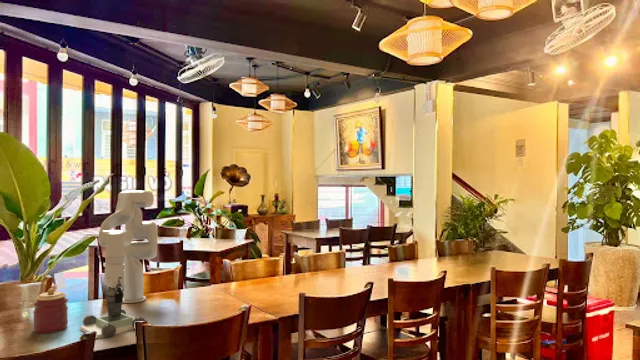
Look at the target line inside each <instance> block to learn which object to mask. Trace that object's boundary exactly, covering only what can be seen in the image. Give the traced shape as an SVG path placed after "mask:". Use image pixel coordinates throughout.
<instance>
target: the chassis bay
mask: <svg viewBox="0 0 640 360" xmlns="http://www.w3.org/2000/svg"><path fill="white" fill-rule="evenodd" d="M135 321H146V319H145V318H143V317H140V316H136V317H135V316H133V315H128V314H127V312H126V311H125V310H124V309H122V308H121V316H120V320H116V321H112V322H109V318H108V314H107V315H104V316H99V317H96V316H95V315H93V314H89V315H86V316H85V317H84V318H83V321H82V323H83V325H81V326H80V331H81V332H83V333H85V334H87V333H86V332H92V331H96V332H97V337H96V338H98V339H101V337H102V338H109V337H110V338H112V337H114V336H115V335H117V334H121V333H125V332H129V331H133V330H135V329H134V322H135ZM128 330H129V331H128Z"/></svg>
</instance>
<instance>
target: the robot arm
mask: <svg viewBox="0 0 640 360" xmlns="http://www.w3.org/2000/svg"><path fill="white" fill-rule="evenodd" d="M154 201H155V200H154V194H153V192H152V191H150V190H124V191H120V192H119V193H118V195H117V203H116V207H115V210H114V211H115V212H114V213H112V214H110V215H109V216H108V217H107V218H106V219H104V221H102V222H101V225H100V228H99V232H98V235H97V236H98V237H97V242H98V245H99V246H101V247H105V266H104V277H103V278H104V279H103V284H104V285H105V286H106V291H107V289H108V288H109V287H111V288H115V291H116V294H115V303H119V302H122V304H123V303H124V304H134V303H135V304H136V303H140V302H144V301H146V300H147V296H145V295H144V266H143V264H142V262H141V261H140V260H152V259H155V258H157V255H158V226H157V224H156V222H154V221H143V211H142V209H141V208H151V207H152V206H153V205H154ZM122 225H124V227H125V228H124V229H114V228H116V227H119V226H122ZM133 240H136V241H133ZM137 240H139V241H137ZM140 240H145V241H140ZM146 240H147V241H146ZM117 285H119V286H117ZM117 288H119V289H117ZM123 293H124V294H123Z"/></svg>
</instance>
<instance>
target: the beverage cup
mask: <svg viewBox="0 0 640 360" xmlns="http://www.w3.org/2000/svg"><path fill="white" fill-rule="evenodd" d="M117 286H119V285H117ZM117 289H119V288H117ZM115 294H116V291H115V288H111V287H109V288H108V289H107V290H106V292H105V298H106V304H107V307H106V308H107V315H108V318H109V322H112V321H116V320H120V316H121V309H122V306H123V302H119V303H115ZM123 295H124V293H123Z"/></svg>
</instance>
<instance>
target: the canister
mask: <svg viewBox="0 0 640 360" xmlns="http://www.w3.org/2000/svg"><path fill="white" fill-rule="evenodd" d="M66 296H67V295H66V293H63V292H62V291H55V289H54V288H52V287H51V288H49V289H48V290H47V292H43V293H40V294H38V295H37V296H36V297H35V302H33V303H32V305H33V306H34V310H33V311H32V313H33V324H32V329H33V333H36V334H50V333H51V334H52V333H57V332H60V331H63V330H66V328H67V327H68V309H69V307H68V304H67V303H68V301H69V299H68V298H66Z"/></svg>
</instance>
